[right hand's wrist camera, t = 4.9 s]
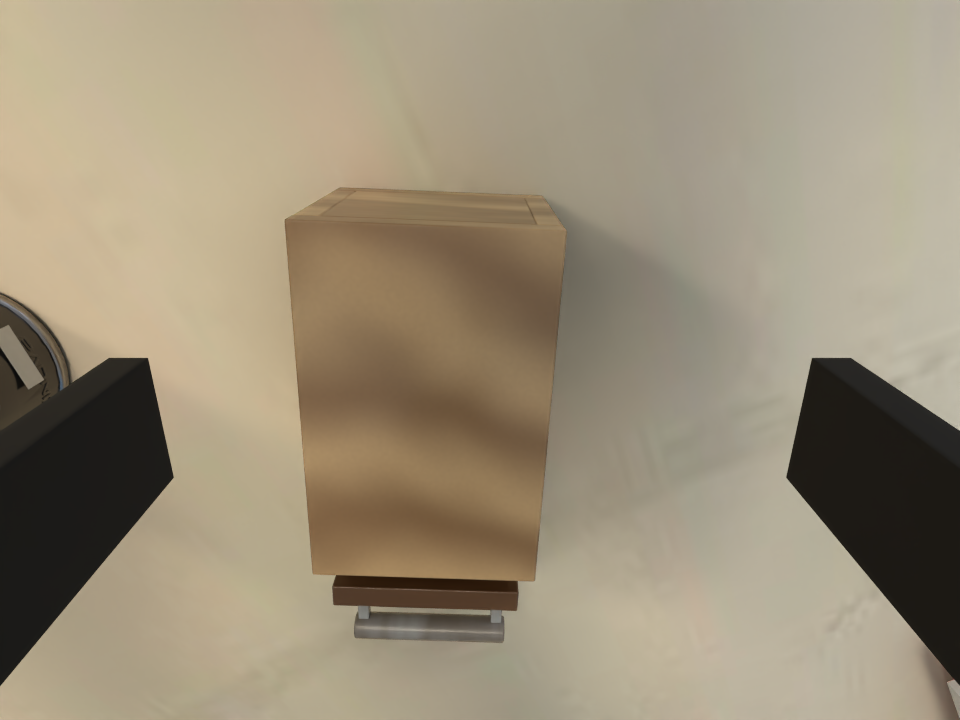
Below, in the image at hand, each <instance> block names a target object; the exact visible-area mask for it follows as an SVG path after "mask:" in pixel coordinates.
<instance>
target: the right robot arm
mask: <svg viewBox="0 0 960 720" xmlns="http://www.w3.org/2000/svg"><path fill="white" fill-rule="evenodd" d="M173 478H174V477H173V472H172V467H171V463H170V458H169V453H168V449H167V444H166V440H165V435H164V430H163V426H162V421H161V416H160V412H159V407H158V403H157V398H156V393H155V389H154V384H153V379H152V375H151V370H150V365H149V361H148V358H108V359H107V360H106V361H104V362H103V363H101V364H100V365H98V366H97V367H95V368H94V369H92V370H91V371H89V372H88V373H86V374H85V375H83V376H82V377H80V378H79V379H77V380H76V381H74V382H73V383H71V384H70V385H68V386H67V387H65V388H64V389H62V390H61V391H59V392H58V393H56V394H55V395H53V396H52V397H50V398H49V399H47V400H46V401H44V402H43V403H41V404H40V405H38V406H37V407H35V408H34V409H32V410H31V411H29V412H28V413H26V414H25V415H23V416H22V417H20V418H19V419H17V420H16V421H14V422H13V423H12V424H10V425H9V426H7V427H6V428H4V429H3V430H1V431H0V686H1V684H2V683H3V682H4V681H5V680H6V678H7V677H8V676H9V675H10V674H11V672H12V671H13V670H14V669H15V668H16V666H17V665H18V664H19V663H20V662H21V660H22V659H23V658H24V657H25V656H26V654H27V653H28V652H29V651H30V650H31V648H32V647H33V646H34V645H35V644H36V642H37V641H38V640H39V639H40V638H41V636H42V635H43V634H44V633H45V632H46V630H47V629H48V628H49V627H50V626H51V624H52V623H53V622H54V621H55V620H56V618H57V617H58V616H59V615H60V614H61V612H62V611H63V610H64V609H65V608H66V606H67V605H68V604H69V603H70V602H71V600H72V599H73V598H74V597H75V596H76V594H77V593H78V592H79V591H80V590H81V588H82V587H83V586H84V585H85V584H86V582H87V581H88V580H89V579H90V577H91V576H92V575H93V574H94V573H95V571H96V570H97V569H98V568H99V567H100V565H101V564H102V563H103V562H104V561H105V559H106V558H107V557H108V556H109V555H110V553H111V552H112V551H113V550H114V549H115V547H116V546H117V545H118V544H119V543H120V541H121V540H122V539H123V538H124V537H125V535H126V534H127V533H128V532H129V531H130V529H131V528H132V527H133V526H134V525H135V523H136V522H137V521H138V520H139V519H140V517H141V516H142V515H143V514H144V513H145V511H146V510H147V509H148V508H149V507H150V505H151V504H152V503H153V502H154V501H155V499H156V498H157V497H158V496H159V495H160V493H161V492H162V491H163V490H164V489H165V487H166V486H167V485H168V484H169V483H170V481H171V480H172V479H173ZM786 478H787V479H788V480H789V481H790V483H791V484H792V485H793V486H794V487H795V489H796V490H797V491H798V492H799V493H800V495H801V496H802V497H803V498H804V499H805V501H806V502H807V503H808V504H809V505H810V507H811V508H812V509H813V510H814V511H815V513H816V514H817V515H818V516H819V517H820V519H821V520H822V521H823V522H824V523H825V525H826V526H827V527H828V528H829V529H830V531H831V532H832V533H833V534H834V535H835V537H836V538H837V539H838V540H839V541H840V543H841V544H842V545H843V546H844V547H845V549H846V550H847V551H848V552H849V553H850V555H851V556H852V557H853V558H854V559H855V561H856V562H857V563H858V564H859V565H860V567H861V568H862V569H863V570H864V571H865V573H866V574H867V575H868V576H869V577H870V579H871V580H872V581H873V582H874V584H875V585H876V586H877V587H878V588H879V590H880V591H881V592H882V593H883V594H884V596H885V597H886V598H887V599H888V600H889V602H890V603H891V604H892V605H893V606H894V608H895V609H896V610H897V611H898V612H899V614H900V615H901V616H902V617H903V618H904V620H905V621H906V622H907V623H908V624H909V626H910V627H911V628H912V629H913V630H914V632H915V633H916V634H917V635H918V636H919V638H920V639H921V640H922V641H923V642H924V644H925V645H926V646H927V647H928V648H929V650H930V651H931V652H932V653H933V654H934V656H935V657H936V658H937V659H938V660H939V662H940V663H941V664H942V665H943V666H944V668H945V669H946V670H947V671H948V672H949V674H950V675H951V676H952V677H953V678H954V680H955V681H956V682H957V683H958V684H959V686H960V431H959V430H957V429H956V428H954V427H953V426H951V425H950V424H948V423H947V422H946V421H944V420H943V419H941V418H940V417H938V416H937V415H935V414H934V413H932V412H931V411H929V410H928V409H926V408H925V407H923V406H922V405H920V404H919V403H917V402H916V401H914V400H913V399H911V398H910V397H908V396H907V395H905V394H904V393H902V392H901V391H899V390H898V389H896V388H895V387H893V386H892V385H890V384H889V383H887V382H886V381H884V380H883V379H881V378H880V377H878V376H877V375H875V374H874V373H872V372H871V371H869V370H868V369H866V368H865V367H863V366H862V365H860V364H859V363H857V362H856V361H854V360H853V359H851V358H812V361H811V365H810V370H809V375H808V379H807V384H806V389H805V393H804V398H803V403H802V407H801V412H800V416H799V421H798V426H797V430H796V435H795V440H794V444H793V449H792V453H791V458H790V463H789V467H788V472H787V477H786Z"/></svg>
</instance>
